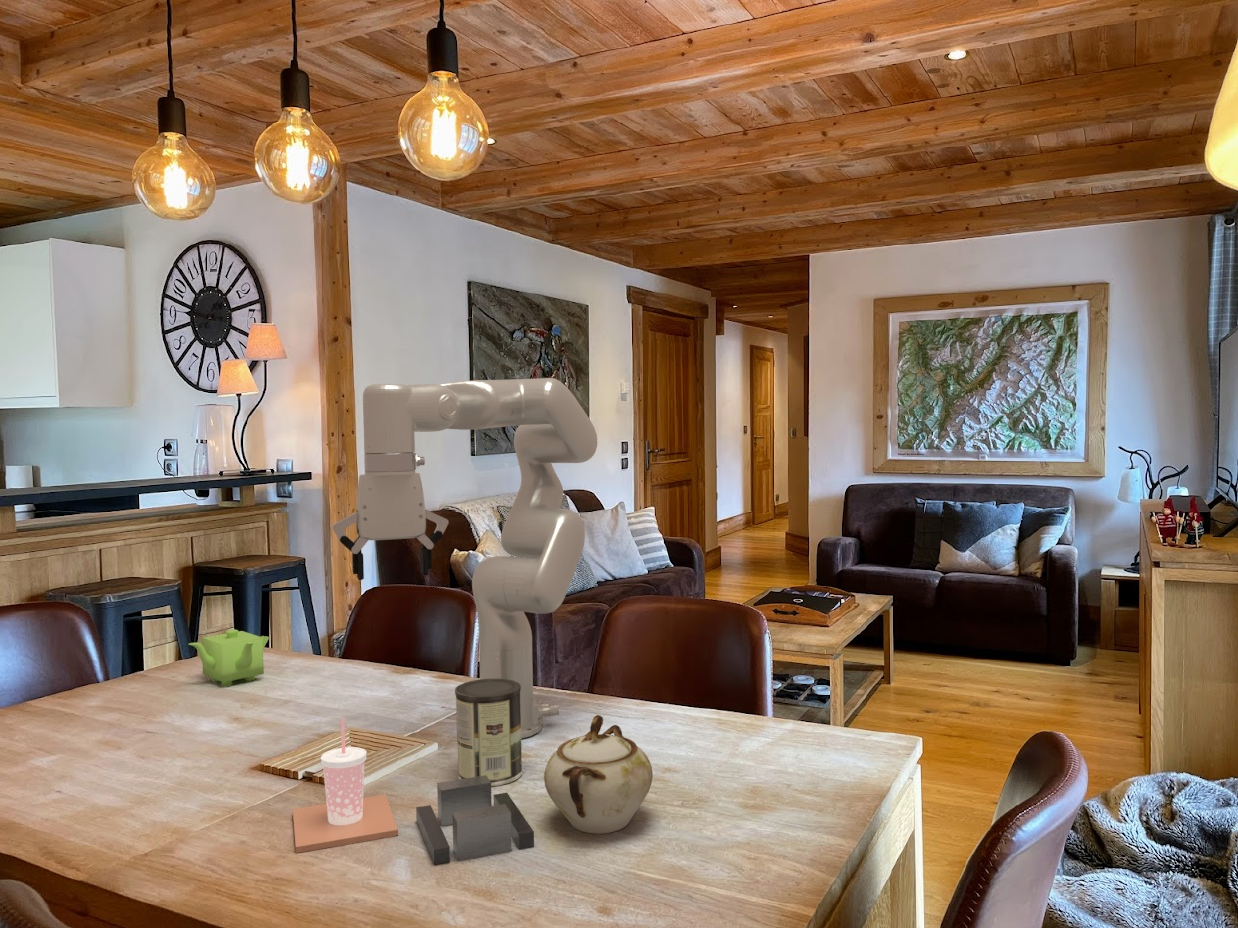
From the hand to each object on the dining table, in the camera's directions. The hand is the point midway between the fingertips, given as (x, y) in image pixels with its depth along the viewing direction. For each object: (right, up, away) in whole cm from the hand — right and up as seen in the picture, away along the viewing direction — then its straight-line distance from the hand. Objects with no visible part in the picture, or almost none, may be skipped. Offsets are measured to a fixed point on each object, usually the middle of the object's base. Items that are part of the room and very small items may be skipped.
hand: (392, 576), depth 140 cm
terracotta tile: (-4, -33, -13) cm, 36 cm away
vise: (+15, -33, -17) cm, 40 cm away
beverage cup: (-3, -32, -13) cm, 35 cm away
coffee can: (+14, -32, +4) cm, 35 cm away
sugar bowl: (+32, -33, -13) cm, 48 cm away
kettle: (-51, -31, +62) cm, 87 cm away
